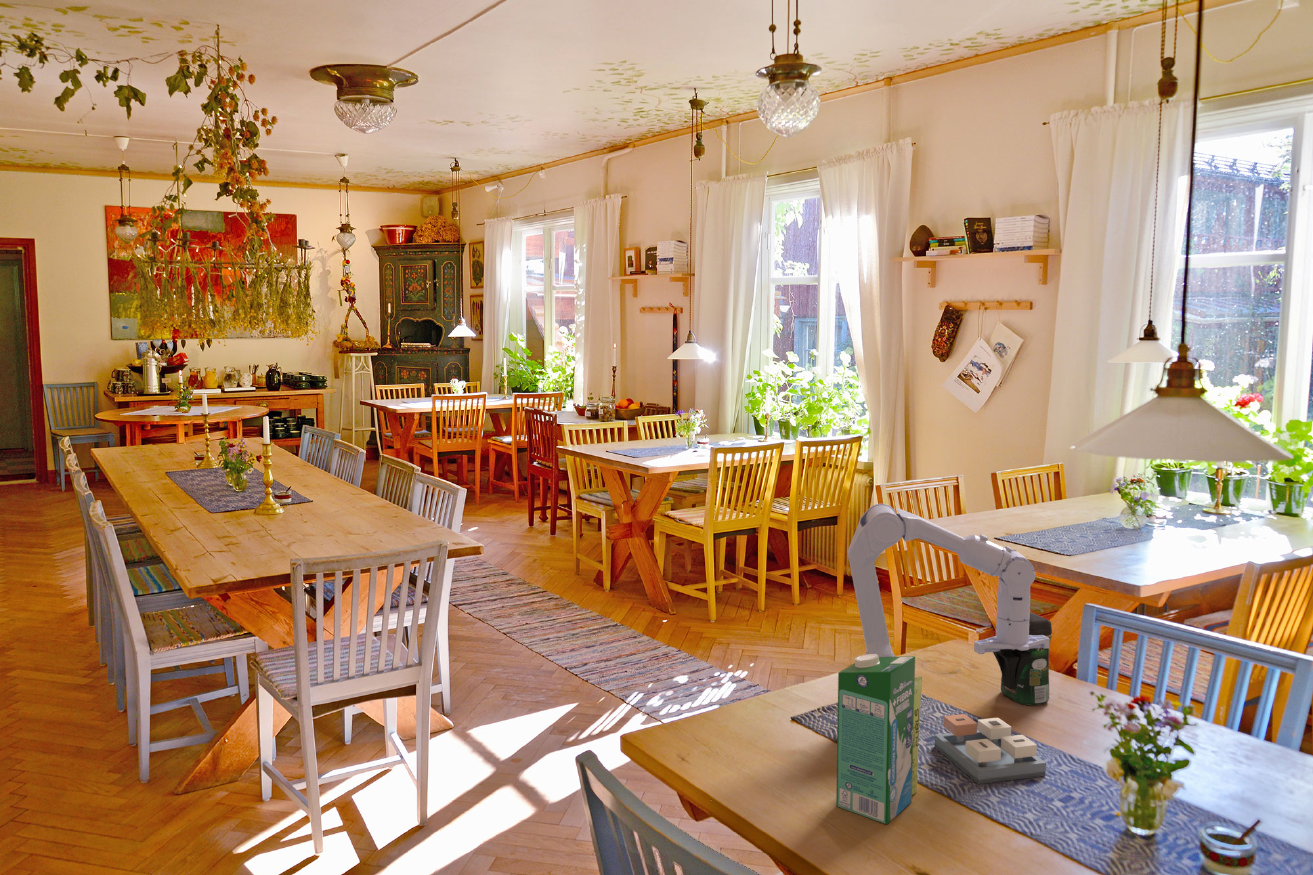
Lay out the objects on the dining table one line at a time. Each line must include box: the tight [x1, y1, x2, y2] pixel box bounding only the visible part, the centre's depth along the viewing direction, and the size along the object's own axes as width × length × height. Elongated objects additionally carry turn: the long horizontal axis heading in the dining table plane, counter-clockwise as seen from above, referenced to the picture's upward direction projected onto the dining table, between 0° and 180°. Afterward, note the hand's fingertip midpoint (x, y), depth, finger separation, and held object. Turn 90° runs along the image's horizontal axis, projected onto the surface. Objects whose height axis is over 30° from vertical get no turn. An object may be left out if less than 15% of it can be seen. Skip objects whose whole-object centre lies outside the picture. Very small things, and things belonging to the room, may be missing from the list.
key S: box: [965, 739, 1001, 768], centre depth 159 cm, size 4×4×4 cm
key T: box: [1001, 734, 1038, 763], centre depth 161 cm, size 4×4×4 cm
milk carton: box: [835, 653, 916, 825], centre depth 148 cm, size 9×9×25 cm
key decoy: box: [943, 713, 978, 742], centre depth 166 cm, size 4×4×4 cm
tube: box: [912, 675, 923, 796], centre depth 153 cm, size 6×5×20 cm
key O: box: [977, 717, 1012, 746], centre depth 168 cm, size 4×4×4 cm
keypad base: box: [934, 729, 1047, 785], centre depth 164 cm, size 13×14×2 cm
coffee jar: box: [1000, 611, 1053, 707], centre depth 191 cm, size 10×8×19 cm
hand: (1010, 687), depth 171 cm, fingers closed
